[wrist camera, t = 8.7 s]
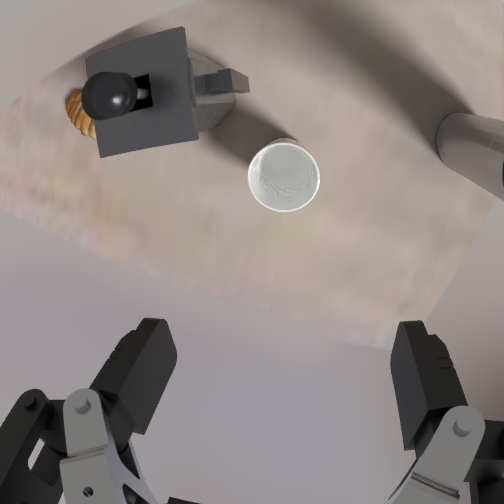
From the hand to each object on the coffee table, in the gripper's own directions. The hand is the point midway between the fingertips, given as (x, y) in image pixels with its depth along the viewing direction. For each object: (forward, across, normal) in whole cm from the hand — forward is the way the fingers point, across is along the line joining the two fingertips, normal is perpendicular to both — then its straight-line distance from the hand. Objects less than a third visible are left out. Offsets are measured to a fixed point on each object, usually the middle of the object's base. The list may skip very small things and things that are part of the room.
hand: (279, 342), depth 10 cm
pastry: (+35, +31, -11) cm, 48 cm away
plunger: (+26, +13, -10) cm, 31 cm away
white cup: (+36, +2, +1) cm, 36 cm away
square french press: (+35, +12, -10) cm, 39 cm away
